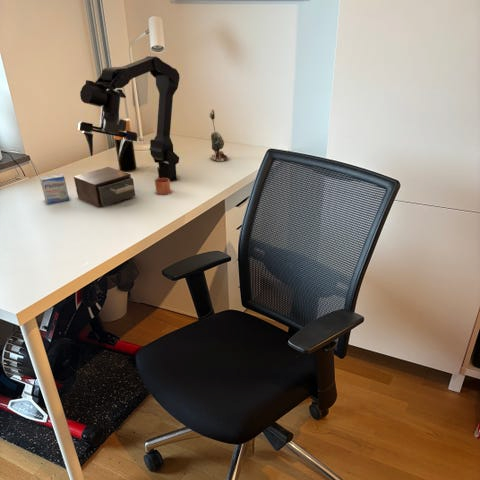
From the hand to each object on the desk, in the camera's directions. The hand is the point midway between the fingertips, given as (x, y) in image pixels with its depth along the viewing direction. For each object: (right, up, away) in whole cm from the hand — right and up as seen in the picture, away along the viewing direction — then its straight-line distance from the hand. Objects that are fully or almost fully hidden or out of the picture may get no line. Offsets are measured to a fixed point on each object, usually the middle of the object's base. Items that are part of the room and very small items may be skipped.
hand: (105, 158), depth 171 cm
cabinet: (-3, -10, +12) cm, 16 cm away
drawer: (+1, -12, +8) cm, 14 cm away
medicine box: (-20, -12, +10) cm, 26 cm away
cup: (+18, -8, +14) cm, 24 cm away
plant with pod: (+37, +15, +47) cm, 62 cm away
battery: (-1, +8, +39) cm, 40 cm away
